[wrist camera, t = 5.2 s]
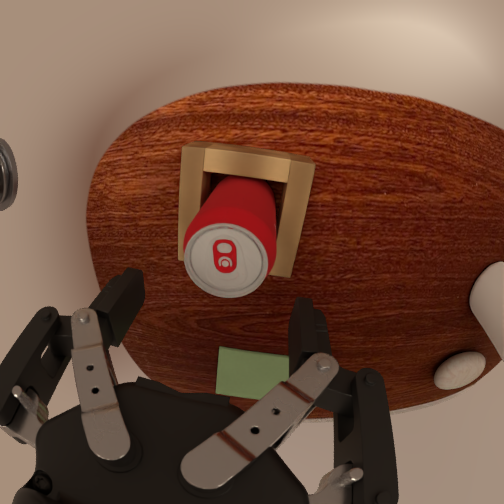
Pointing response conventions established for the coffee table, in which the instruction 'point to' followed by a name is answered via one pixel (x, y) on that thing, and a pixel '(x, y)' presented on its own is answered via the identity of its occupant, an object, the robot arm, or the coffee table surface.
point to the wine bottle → (490, 303)
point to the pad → (249, 372)
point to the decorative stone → (459, 370)
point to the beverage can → (233, 238)
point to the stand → (256, 166)
